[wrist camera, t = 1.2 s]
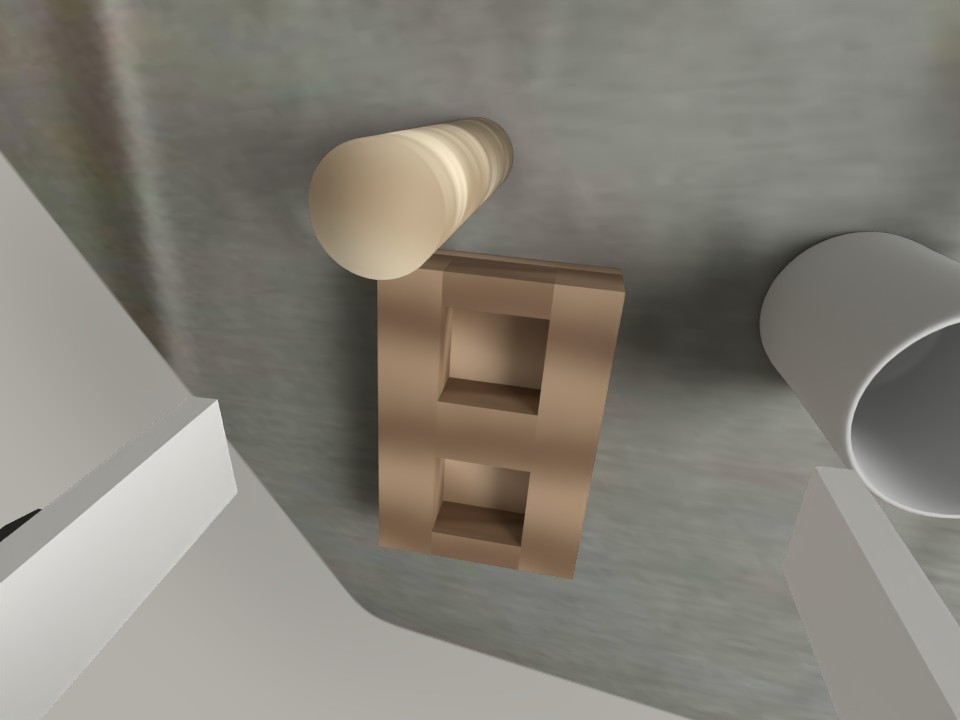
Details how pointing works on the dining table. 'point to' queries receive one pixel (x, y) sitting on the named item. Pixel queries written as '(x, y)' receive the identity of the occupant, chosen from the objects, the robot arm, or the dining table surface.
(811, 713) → the dining table surface
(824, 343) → the mug
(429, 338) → the bore block
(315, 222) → the pin
